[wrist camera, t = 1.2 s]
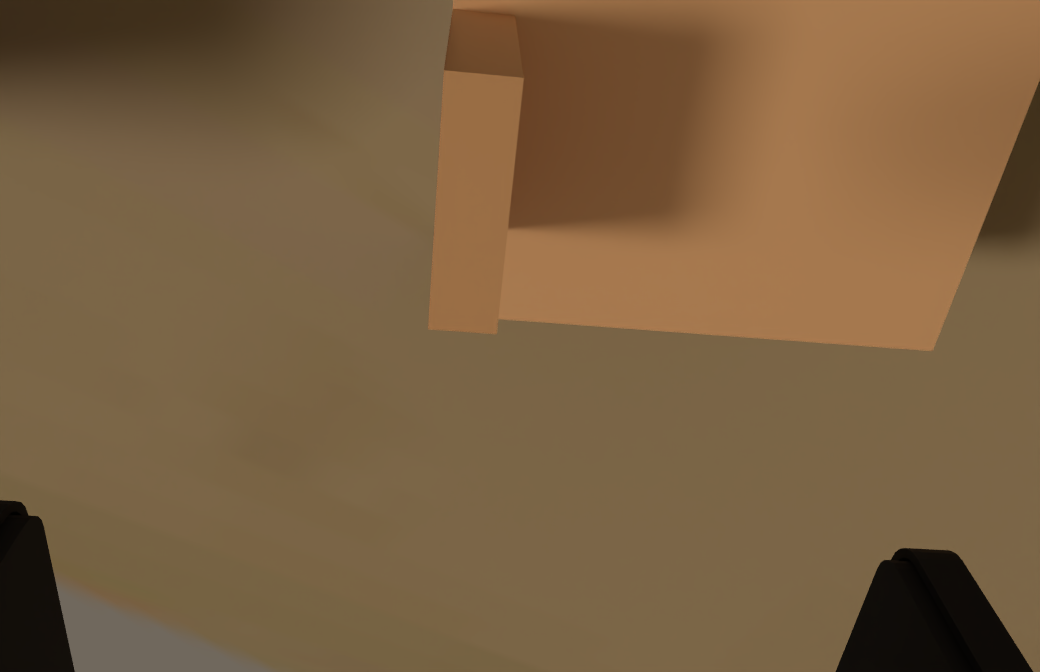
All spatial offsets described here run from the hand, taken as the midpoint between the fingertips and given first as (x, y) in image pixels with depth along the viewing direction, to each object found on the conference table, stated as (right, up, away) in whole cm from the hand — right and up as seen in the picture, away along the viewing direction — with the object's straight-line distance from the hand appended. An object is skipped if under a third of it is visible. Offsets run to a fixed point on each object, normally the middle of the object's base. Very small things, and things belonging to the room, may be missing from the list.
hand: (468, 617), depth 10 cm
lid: (+6, +10, +17) cm, 20 cm away
